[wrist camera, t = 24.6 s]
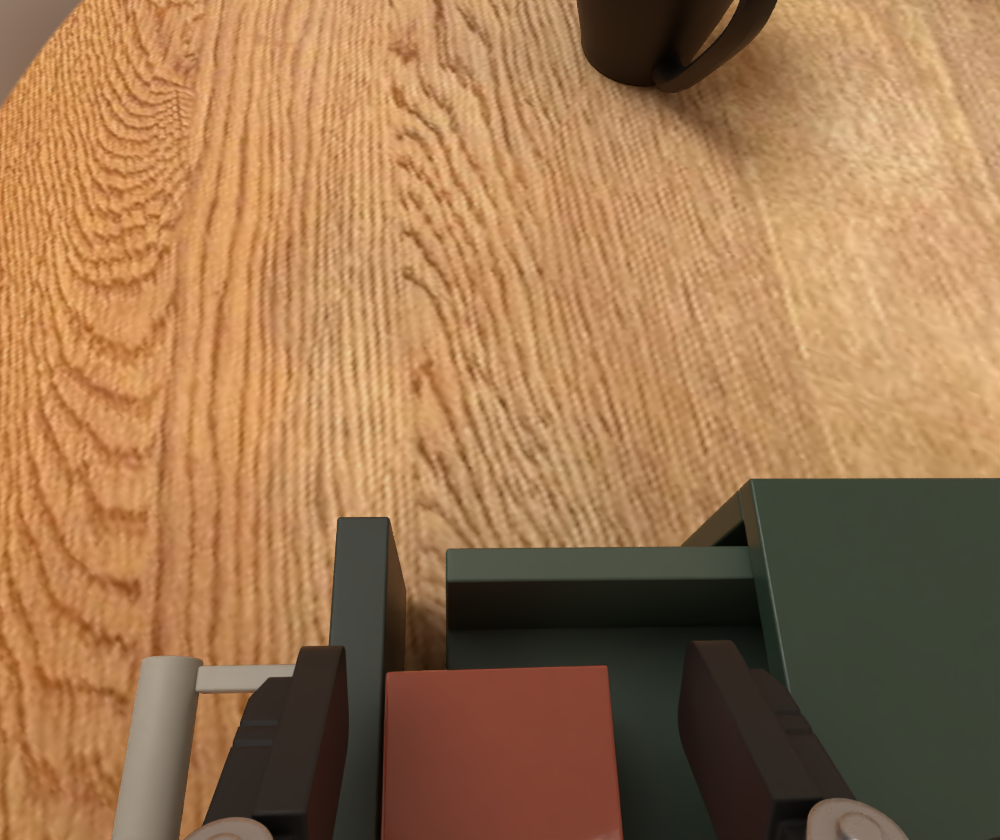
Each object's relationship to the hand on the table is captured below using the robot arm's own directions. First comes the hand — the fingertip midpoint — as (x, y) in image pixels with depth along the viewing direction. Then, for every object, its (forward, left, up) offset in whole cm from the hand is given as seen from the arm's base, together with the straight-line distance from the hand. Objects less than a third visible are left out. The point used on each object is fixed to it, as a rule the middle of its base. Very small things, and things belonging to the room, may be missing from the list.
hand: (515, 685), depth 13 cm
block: (-1, -1, -9) cm, 9 cm away
